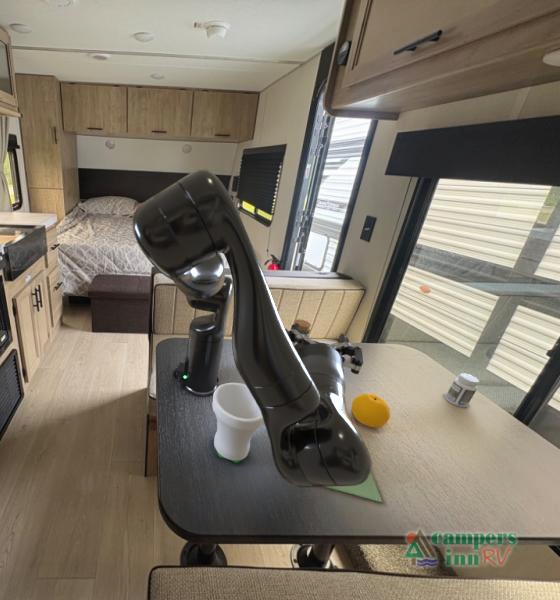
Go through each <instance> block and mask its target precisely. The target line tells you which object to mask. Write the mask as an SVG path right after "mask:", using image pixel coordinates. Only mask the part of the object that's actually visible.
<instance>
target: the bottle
mask: <svg viewBox="0 0 560 600" xmlns="http://www.w3.org/2000/svg"><path fill="white" fill-rule="evenodd" d="M296 323H299V331H298V332H299V333H300V334H305V335H306V336H307V337H308V338H309V339H310V337H309V334H310V333H311V326H312V324H311V322H309V321H307V320H305V319H295V320H294V322H293V324H294V325H295V324H296ZM303 342H304V341H303Z"/></svg>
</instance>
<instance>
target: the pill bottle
mask: <svg viewBox="0 0 560 600" xmlns="http://www.w3.org/2000/svg"><path fill="white" fill-rule="evenodd" d="M479 383H480V379H478V378H477V377H476V376H474V375H472V374H470V373H464V372H461V373H459V375H458V376H457V378H455V379H454V380H453V381H452V383H451V385H450V387H449V389H448V391H447V392H446V394H445V399H446V400H447V401H448V402H449V403H451V404H453V405H455V406H458V407H462V408H464V407H468V405H469V404H470V401H472V398H473V397H474V395H475V393H476V392H477V390H478V387H477V386H479Z"/></svg>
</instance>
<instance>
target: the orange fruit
mask: <svg viewBox="0 0 560 600" xmlns="http://www.w3.org/2000/svg"><path fill="white" fill-rule="evenodd" d="M390 411H391V409H390V407H389V405H388V403H387V401H386V400H384V399H383V398H382V397H380V396H379V395H376V394H374V393H373V394H372V393H361V394H359V395H356V397H355V398H354V399H353V400H352V403H351V412H352V415H353V417H354V418H355V419H356V420H357V421H358V422H359V423H361V424H362V425H364V426H367V427H370V428H382V427H383V426H385V425H387V423H388V422H389V420H390V418H391V412H390Z"/></svg>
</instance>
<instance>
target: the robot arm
mask: <svg viewBox="0 0 560 600" xmlns="http://www.w3.org/2000/svg"><path fill="white" fill-rule="evenodd" d="M131 227H132V233H133V235H134V238H135V241H136V243H137V245H138V247H139V249H140V250H141V252H142V254H143V255H144V256H145V257H146V259H147V260H148V262H150V264H151V265H152V266H153V267H154V268H155V269H156V270H157V272H159V273H160V274H162V275H163V276H164V277H166V278H168V279H169V280H171V281H173V283H174V284H175V286H176V287H177V288H178V289H179V290H180V292H181V293H182V294H183V295H184V296H185V299H186V301H187V304H188V305H189V307H190V308H192V309H195V310H199V311H204V312H208V313H210V314H206V315H200V316H197V317H194V318H193V319H192V320H191V321H190V324H189V330H188V337H187V338H188V339H187V348H186V356H185V358H184V362H181V361H180V362H179V364H178V366H177V367H176V368H175V369H173V370H172V373H171V374H172V377H173V379H174V380H175V381H176V380H178V379H179V378H180V379H182V381H181V382H182V383H181V388H182V389H185V390H186V391H187V392H188V393H190V394H192V395H195V396H199V397H206V396H210V395H213V394H214V392H215V390H216V388H217V387H218V386H217V385H218V383H219V382H220V381H219V380H220V378H219V370H220V364H221V359H222V353H223V347H224V346H223V345H224V340H225V336H226V326H227V320H228V315H229V312H230V307H231V303H232V298H233V314H232V328H231V349H232V356H233V360H234V364H235V367H236V369H237V371H238V373H239V376H240V378H241V379H242V381H243V384H246V386H247V388H248V390H249V391H250V393H251V395H252V397H253V398H254V400H255V402H256V404H257V406H258V407H259V409H260V412H261V415H262V417H263V420H264V424H263V425H264V427H265V430H266V434H267V438H268V440H269V442H268V443H269V446H270V452H271V456H272V460H273V463H274V466H275V469H276V470H277V473H279V475H280V476H281V477H282V478H283V479H284V480H285V481H286V482H288V483H289V484H291V485H293V486H295V487H297V488H326V487H334V486H355V485H360V484H362V483H363V482H365V481H366V480H367V478H368V477H369V475H370V473H371V474H372V468H373V462H372V461H373V460H372V456H371V454H370V450H369V448H368V446H367V444H366V442H365V440H364V438H363V437H362V436H361V434H360V432H359V431H358V429H357V428H356V426H355V425H354V423H353V421H352V420H351V417H350V415H349V413H348V409H347V404H346V378H345V369H344V368H348V369H350V372H351V373H352V374H354V375H359V374H360V371H361V368H362V367H363V364H364V356H363V348H362V347H361V346H358V345H357V346H354V347H353V346H352V345H351V343H350V341H349V340H350V339H349V338H348V337H347V336H346V335H345V334H344V333H340V334H339V336H338V339H337V342H334V343H331V344H329V343H325V342H320V341H316V340H313V339H311V338H310V337H309V338H308V337H307V336H306V335H305V334H300V333H299V332H298V331H299V323H296V324H295V325H294V323H293V324H291V327H290V330H289V329H287V328H286V327H285V325H284V323H283V321H282V320H283V319H282V318H281V316H280V313H279V311H278V308H277V305H276V302H275V300H274V297H273V295H272V292H271V289H270V286H269V284H268V281H267V279H266V276H265V274H264V271H263V267H262V266H261V263H260V261H259V259H258V256H257V253H256V251H255V249H254V246H253V244H252V241H251V238H250V236H249V233H248V232H247V229H246V226H245V224H244V222H243V220H242V216H241V213H240V212H239V209H238V208H237V205H236V204H235V202H234V200H233V198H232V197H231V195H230V193H229V192H228V190H227V188H226V187H225V185H224V184H223V182H222V181H221V180H220V178H219V177H218V176H216V174H215V173H213V172H212V171H211V170H209V169H206V168H198V169H196V170H194V171H192V172H190V173H188V174H187V175H185V176H184V177H182V178H180V179H179V180H177V181H175V182H174V183H172V184H170V185H169V186H168V187H166V188H164V189H162V190H161V191H159V192H158V193H156V194H155V195H153V196H151V197H149V198H148V199H147V200H144V202H143V203H142V204H140V205H139V206H138V207H137V208H136V209H135V211H134V212H133V214H132V218H131ZM221 254H223V255H224V258H225V261H226V262H227V265H228V268H229V271H230V274H231V277H230V276H226V270H225V269H226V268H225V262H224V259H223V257H222V255H221ZM303 341H304V342H303ZM346 356H348V357H349V358H347V359H346V358H345V357H346Z"/></svg>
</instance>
